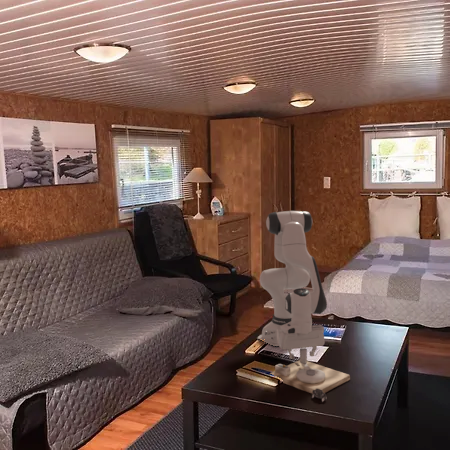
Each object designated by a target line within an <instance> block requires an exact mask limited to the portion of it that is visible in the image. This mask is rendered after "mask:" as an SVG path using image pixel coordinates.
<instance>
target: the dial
mask: <svg viewBox="0 0 450 450" xmlns="http://www.w3.org/2000/svg"><path fill="white" fill-rule="evenodd" d="M307 352H308V349H307V347H306V348H299V360H300V363H301V365H302V366H303V368H304V369H301V370H299V371H297V373H296V377H297V379H298V380H299V381H301V382H304V383H311V384H313V383H320V382H323V381H324V380H325V373H324V372H323V371H321V370H318V369H313V368H310V367H309V366H308V365H307V361H308V353H307Z"/></svg>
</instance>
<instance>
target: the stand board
mask: <svg viewBox="0 0 450 450" xmlns="http://www.w3.org/2000/svg"><path fill="white" fill-rule="evenodd" d="M307 365H308V366H309V367H310V368H313V369H318V370H321V371H323V372H324V373H325V380H324V381H323V382H320V383H313V384H311V383H304V382H301V381H299V380H298V379H297V377H296V373H297V371H299V370H301V369H304V368H303V366H302V365H301V363H300V359H298V360H297V361H294V362H292V363H290V364H288V365H285V364H282V363H278V364H276V365H275V366H274V367H275V368H274V371H272V372H270V373H269V375H270V374H272V375H274V376H277V377H279V378H281V379H282V380H283V384H286V385H288V386H291V387H293V388H295V389H298V390H301V391H304V392H307V393H308V394H309V393H310V394H311V395H312V394H313V390H316V388H317V389H321V390H322V391H323V393H325V394H326V393H327V392H329V391H331V390H333V389H334V388H336V387H338V386H341V385H343V384H344V383H346V382H348V381H350V380H351V375H350V374H349V373H345V372H342V371H339V370H335V369H333V368H329V367H325V366H324V365H321V364H316V363H315V362H312V361H308V360H307Z"/></svg>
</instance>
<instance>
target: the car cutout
mask: <svg viewBox="0 0 450 450" xmlns="http://www.w3.org/2000/svg"><path fill="white" fill-rule="evenodd" d="M314 398H316V399H319V400H321V403H323V402H325V401H327V395H326V393H323V391H322V390H321V389H317V388H316V390H313V394H312V393H311V399H314Z"/></svg>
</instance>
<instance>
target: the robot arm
mask: <svg viewBox="0 0 450 450" xmlns="http://www.w3.org/2000/svg"><path fill="white" fill-rule="evenodd" d="M265 224H266V225H265V226H266V229H267V231H268V232H269V233H270V234H272V235H274V245H273V246H274V248H273V249H274V250H273V251H274V252H273V253H274V258H275V259H276V260H277V261H278V262H279V263H283V265H285V267H279V268H277V267H274V268H269V269H265V270H262V271H261V273H260V274H259V283H260V286H261V287H262V288H263V289H264V290H265V291H267V293H269V295H270V296H271V298H272V300H273V311H274V314H272V315H270V319H272V320H271V321H270V322H268V323H267V324H266V325H265V326H264V327H263V328H262V331H261V334H259V336H257V340H258V339H262V340H264V339H265V340H264V341H265V342H266V343H265V342H264V343H265V344H267V343H268V344H267V345H269V344H270V345H269V346H271V345H273V346H279V349H281V350H282V351H287V353H288V354H289V359H290V360H291V359H295V354H294V353H292V351H293V350H294V349H296V350H297V349H300V348H306V349H307V348H312V349H311V350H310V351H309V357H314V356H315V352H316V351H317V348H318V347H322V346H324V345H325V334H324V333H325V327H324V326H323V325H322V324H313V319H312V314H314V315H321V314H323V312H325V311H326V310H327V307H328V301H327V298H326V295H325V290H324V289H323V285H322V281H321V280H322V279H321V276H320V272H319V268H318V264H317V262H316V259H315V257H314V256H312V255H311V254H310V253H309V251H308V248H307V239H306V234H305V233H309V232H310V231H311V230H312V226H313V216H312V214H311V213H310V212H309V211H306V210H305V211H304V210H302V211H301V210H286V211H278V212H277V211H274V212H270V213H268V215H267V218H266V221H265ZM310 282H311V287H312V291H310V290H309V289H307V288H306V287H307V286H308V285H309V283H310ZM285 290H293V291H292V292H290V293H288V294H286V293H285ZM273 346H272V347H273Z"/></svg>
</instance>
